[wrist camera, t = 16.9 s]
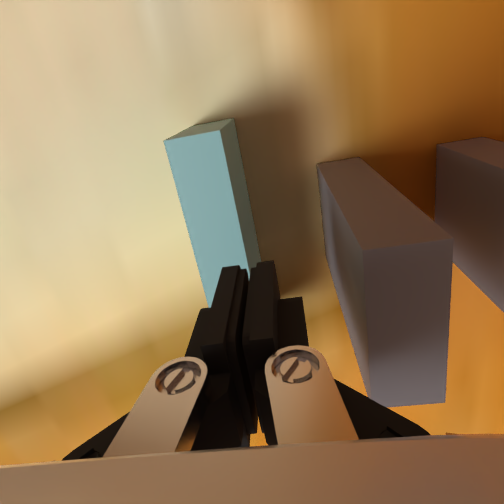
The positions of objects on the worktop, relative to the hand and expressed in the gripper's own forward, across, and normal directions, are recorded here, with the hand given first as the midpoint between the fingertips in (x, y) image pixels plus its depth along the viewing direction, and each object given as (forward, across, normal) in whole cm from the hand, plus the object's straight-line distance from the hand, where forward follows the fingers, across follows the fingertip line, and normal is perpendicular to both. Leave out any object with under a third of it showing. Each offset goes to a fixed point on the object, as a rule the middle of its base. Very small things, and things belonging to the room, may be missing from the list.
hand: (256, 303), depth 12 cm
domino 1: (+5, +2, -5) cm, 8 cm away
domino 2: (+8, -4, 0) cm, 9 cm away
